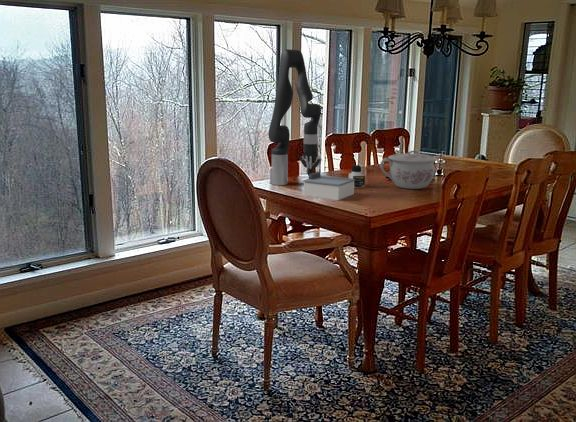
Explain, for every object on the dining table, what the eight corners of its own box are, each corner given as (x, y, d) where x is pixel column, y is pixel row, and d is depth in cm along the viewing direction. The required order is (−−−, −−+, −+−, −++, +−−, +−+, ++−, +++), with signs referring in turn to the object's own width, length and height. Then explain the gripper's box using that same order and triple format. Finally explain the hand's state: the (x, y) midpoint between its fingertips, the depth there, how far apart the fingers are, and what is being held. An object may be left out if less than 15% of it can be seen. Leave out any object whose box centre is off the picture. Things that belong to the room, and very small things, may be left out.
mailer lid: (303, 181, 286) (303, 175, 286) (320, 176, 302) (320, 170, 301) (338, 186, 276) (339, 179, 275) (355, 180, 291) (355, 174, 290)
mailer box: (303, 195, 288) (303, 182, 286) (320, 189, 303) (320, 177, 301) (338, 200, 278) (338, 186, 276) (353, 194, 293) (354, 181, 291)
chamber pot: (444, 187, 314) (447, 150, 309) (420, 194, 294) (423, 155, 289) (401, 180, 332) (403, 146, 327) (376, 187, 312) (377, 150, 307)
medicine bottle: (352, 188, 309) (353, 166, 306) (348, 185, 316) (348, 164, 313) (364, 187, 311) (365, 166, 308) (359, 185, 318) (360, 164, 315)
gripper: (296, 142, 290) (295, 175, 294) (318, 144, 284) (317, 177, 288) (303, 141, 297) (303, 173, 301) (325, 142, 290) (324, 175, 294)
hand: (310, 175), depth 294 cm, fingers closed
